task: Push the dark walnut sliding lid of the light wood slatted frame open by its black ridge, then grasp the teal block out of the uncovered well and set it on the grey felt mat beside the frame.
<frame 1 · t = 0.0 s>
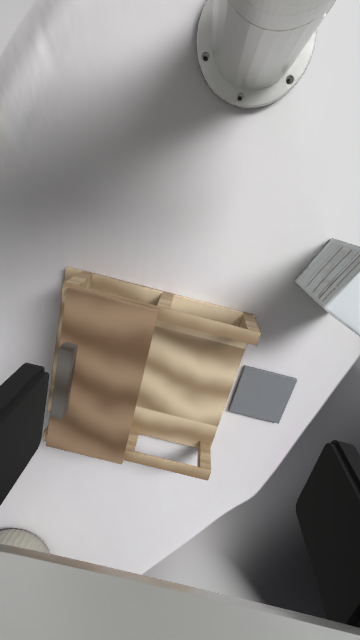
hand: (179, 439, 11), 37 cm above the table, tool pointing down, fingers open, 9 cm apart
light wood slatted frame: (144, 364, 52), on the table
felt mat: (261, 394, 52), on the table
supplement box: (331, 274, 46), on the table
canister: (22, 546, 68), on the table
walnut lid: (95, 387, 43), point 9 cm above the table, slide at 0.0 cm
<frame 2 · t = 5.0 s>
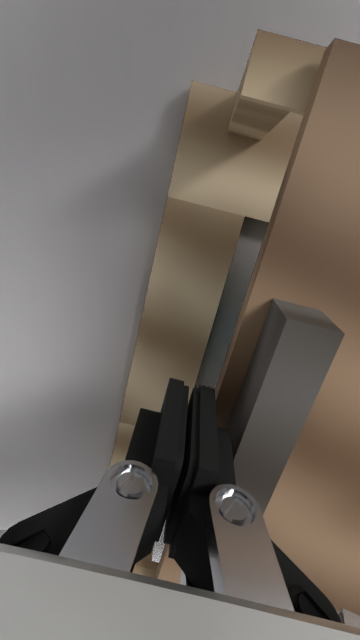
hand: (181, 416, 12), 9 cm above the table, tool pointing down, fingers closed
light wood slatted frame: (359, 371, 21), on the table
walnut lid: (359, 465, 12), point 9 cm above the table, slide at 1.0 cm, touching gripper
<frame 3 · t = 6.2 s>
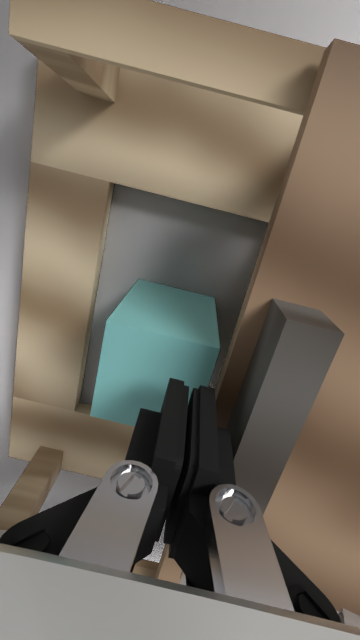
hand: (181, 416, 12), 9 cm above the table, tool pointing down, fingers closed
light wood slatted frame: (248, 343, 20), on the table
teal block: (168, 323, 20), resting in light wood slatted frame
walnut lid: (359, 465, 12), point 9 cm above the table, slide at 8.0 cm, touching gripper
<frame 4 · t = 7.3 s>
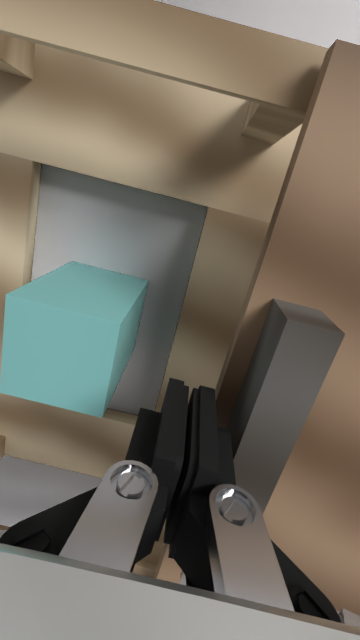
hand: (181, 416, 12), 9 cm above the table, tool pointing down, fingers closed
light wood slatted frame: (185, 327, 20), on the table
teal block: (104, 306, 20), resting in light wood slatted frame
walnut lid: (358, 465, 12), point 9 cm above the table, slide at 11.9 cm, touching gripper
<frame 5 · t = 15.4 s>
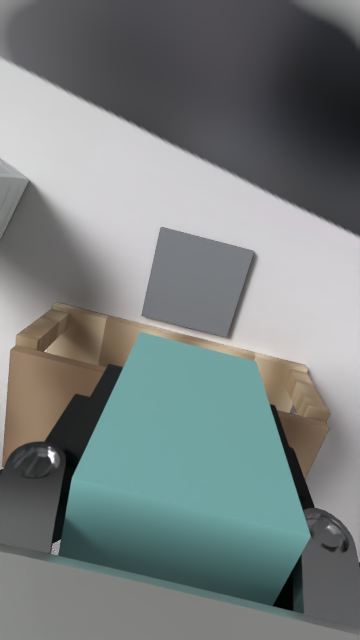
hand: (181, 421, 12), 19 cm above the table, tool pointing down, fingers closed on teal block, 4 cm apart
light wood slatted frame: (151, 445, 37), on the table
felt mat: (195, 283, 30), on the table
teal block: (183, 396, 14), point 18 cm above the table, touching gripper
walnut lid: (154, 454, 26), point 9 cm above the table, slide at 12.1 cm
when the fingers open (4 cm above the table, at t = 18.7 s): teal block drops 1 cm, resting on felt mat.
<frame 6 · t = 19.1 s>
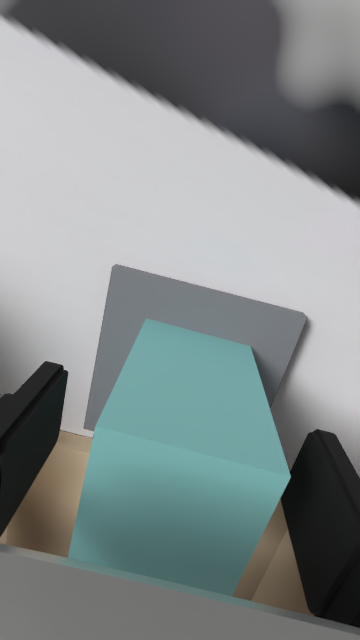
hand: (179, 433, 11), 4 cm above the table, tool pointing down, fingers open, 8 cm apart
light wood slatted frame: (115, 615, 22), on the table
felt mat: (186, 371, 15), on the table
teal block: (184, 378, 15), point 1 cm above the table, touching felt mat
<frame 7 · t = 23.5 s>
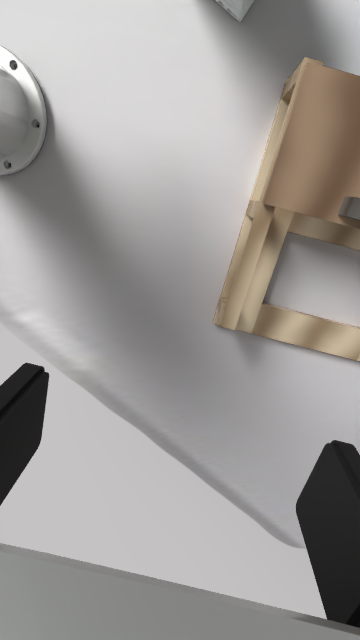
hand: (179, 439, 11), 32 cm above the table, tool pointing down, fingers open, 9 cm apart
light wood slatted frame: (344, 241, 39), on the table
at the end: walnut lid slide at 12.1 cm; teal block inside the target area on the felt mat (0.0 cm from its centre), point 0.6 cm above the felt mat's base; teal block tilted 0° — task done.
